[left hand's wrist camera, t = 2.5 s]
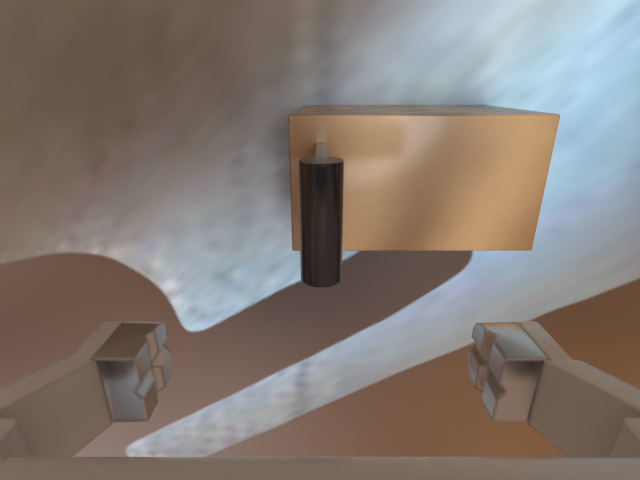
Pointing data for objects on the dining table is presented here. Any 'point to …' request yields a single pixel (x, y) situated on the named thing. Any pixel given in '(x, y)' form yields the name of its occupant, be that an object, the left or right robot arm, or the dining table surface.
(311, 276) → the lid
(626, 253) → the dining table surface
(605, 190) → the dining table surface
